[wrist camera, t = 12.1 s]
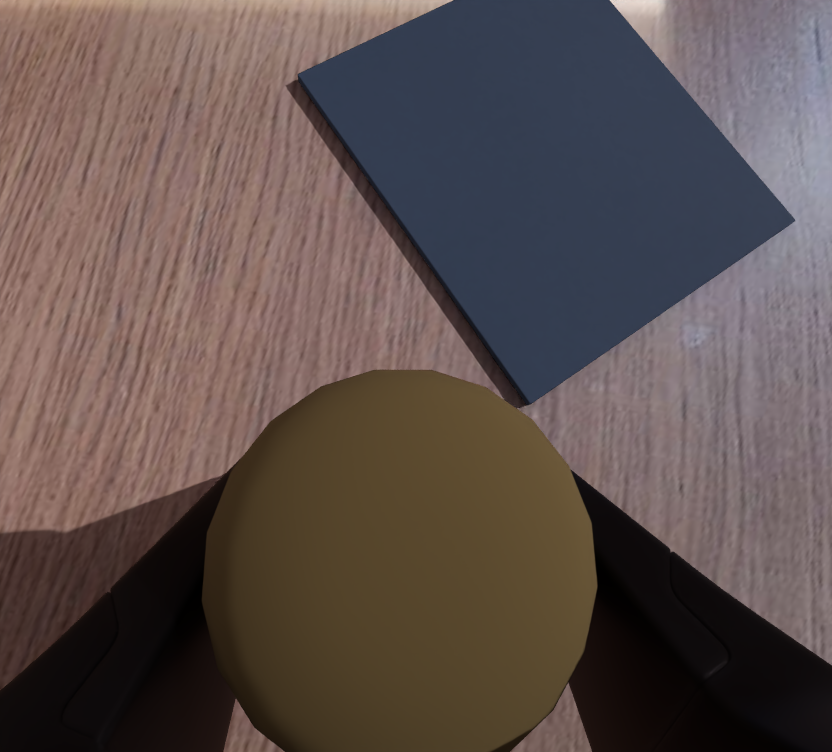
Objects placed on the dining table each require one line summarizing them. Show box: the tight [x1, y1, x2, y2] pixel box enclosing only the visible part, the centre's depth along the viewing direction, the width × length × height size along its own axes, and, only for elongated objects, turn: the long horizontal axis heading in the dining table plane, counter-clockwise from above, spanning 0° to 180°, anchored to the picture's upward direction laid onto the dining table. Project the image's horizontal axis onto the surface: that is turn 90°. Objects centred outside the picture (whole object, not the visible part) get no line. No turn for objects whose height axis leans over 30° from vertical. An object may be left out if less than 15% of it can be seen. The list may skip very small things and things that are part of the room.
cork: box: [202, 370, 597, 752], centre depth 10 cm, size 6×6×11 cm
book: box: [298, 0, 795, 405], centre depth 19 cm, size 16×14×1 cm
